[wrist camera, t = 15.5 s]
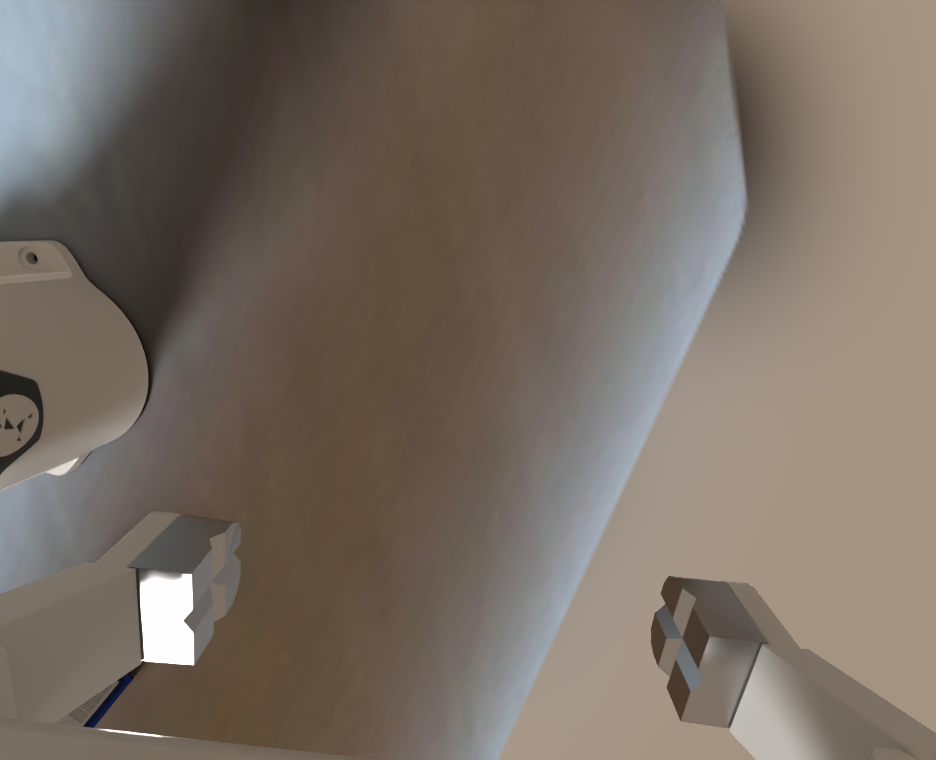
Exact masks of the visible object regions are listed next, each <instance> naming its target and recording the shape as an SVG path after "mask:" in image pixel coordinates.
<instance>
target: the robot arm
mask: <svg viewBox="0 0 936 760" xmlns="http://www.w3.org/2000/svg"><path fill="white" fill-rule="evenodd" d="M34 255H36V256H37V259H38V261H37V262H36V261H35V259H34ZM147 391H148V367H147V361H146V357H145V353H144V350H143V347H142V344H141V342H140V340H139V337H138V335H137V333H136V332H135V330H134V328H133V326H132V325H131V323H130V322H129V320H128V319H127V317H126V316H125V315H124V314H123V312H122V311H121V310H120V309H119V308H118V307H117V306H116V305H115V303H114V302H112V301H111V300H110V299H109V298H108V297H107V296H106V295H105V294H103V293H102V292H101V291H100V290H99V289H97V288H96V287H95V286H94V285H93V284H92V283H91V282H90V281H89V280H88V279H87V278H86V277H85V275H84V273H83V272H82V270H81V268H80V267H79V265H78V263H77V262H76V260H75V259H74V257H73V256H72V254H71V253H70V252H69V250H68V249H67V248H66V247H65V246H64V245H63V244H61V243H59V242H57V241H52V240H38V241H0V491H2V490H4V489H7V488H9V487H11V486H14V485H16V484H19V483H21V482H23V481H26V480H28V479H30V478H33V477H35V476H37V475H40V474H42V473H45V472H47V473H50V474H53V475H63V474H66V473H68V472H71V471H73V470H75V469H76V468H77V467H78V466H79V465H80V464H81V463H82V462H83V461H84V460H85V458H86V457H87V456H88V454H89V453H90V452H91V451H92V450H94V449H96V448H97V447H99V446H102V445H104V444H107V443H109V442H111V441H113V440H115V439H117V438H118V437H120V436H121V435H122V434H124V433H125V432H126V431H127V430H128V429H129V428H130V427H131V426H132V425H133V424H134V422H135V421H136V420H137V418H138V417H139V415H140V413H141V411H142V409H143V406H144V404H145V400H146V396H147ZM240 543H241V530H240V526H239V524H238V523H237V522H234V521H227V520H220V519H214V518H207V517H200V516H193V515H186V514H184V515H182V514H179V513H171V512H162V511H156V512H151V513H150V514H148V515H147V516H146V517H145V518H144V519H143V520H142V521H141V522H139V523H138V524H137V525H136V526H135V527H134V528H133V529H132V530H131V531H129V532H128V533H127V534H126V535H125V536H124V537H123V538H122V539H121V540H120V541H118V542H117V543H116V544H115V545H114V546H113V547H112V548H111V549H110V550H108V551H107V552H106V553H105V554H104V555H103V556H102V557H101V558H100V559H99V560H97V561H96V562H95V563H94V564H93V563H82V564H80V565H77V566H74V567H72V568H69V569H66V570H64V571H61V572H58V573H56V574H53V575H50V576H48V577H45V578H42V579H40V580H37V581H34V582H32V583H29V584H26V585H24V586H21V587H18V588H16V589H13V590H10V591H8V592H5V593H2V594H0V760H379V759H370V758H361V757H351V756H342V755H333V754H324V753H315V752H306V751H297V750H288V749H279V748H270V747H261V746H252V745H243V744H234V743H225V742H216V741H207V740H198V739H189V738H180V737H171V736H162V735H153V734H144V733H135V732H126V731H117V730H108V729H99V728H90V727H81V726H72V725H63V724H54V723H55V722H57V721H58V720H60V719H61V718H63V717H64V716H66V715H67V714H69V713H70V712H71V711H73V710H74V709H76V708H77V707H79V706H80V705H82V704H83V703H85V702H86V701H88V700H89V699H90V698H92V697H93V696H95V695H96V694H98V693H99V692H101V691H102V690H104V689H105V688H107V687H108V686H110V685H111V684H112V683H114V682H115V681H117V680H118V679H120V678H121V677H123V676H124V675H126V674H127V673H129V672H130V671H131V670H133V669H134V668H136V667H137V666H139V665H140V664H141V663H142V662H141V661H151V662H163V663H174V664H186V665H194V664H195V663H196V661H197V659H198V658H199V656H200V655H201V653H202V652H203V650H204V648H205V647H206V645H207V644H208V642H209V641H210V639H211V637H212V636H213V622H214V621H216V620H218V619H220V618H221V617H223V616H225V615H226V613H227V612H228V610H229V608H230V607H231V605H232V603H233V601H234V598H235V595H236V592H237V589H238V586H239V580H240V574H241V562H240V561H239V559H238V558H237V557H236V555H235V554H234V551H235V550H236V548H237V547H238V546H239V544H240ZM661 595H662V597H663V599H664V601H665V603H666V604H665V605H664V606H663V607H662V608H661V609H659V610H658V611H657V612H655V615H654V619H653V623H652V627H651V644H652V649H653V654H654V657H655V659H656V662H657V665H658V667H659V668H661V670H663V671H664V672H665V673H666V674H667V675H668V676H669V677H670V679H669V682H668V685H667V689H668V692H669V694H670V697H671V699H672V701H673V704H674V706H675V709H676V711H677V713H678V716H679V718H680V721H682V722H689V723H696V724H703V725H709V726H716V727H723V728H730V730H729V731H730V732H731V733H732V734H733V735H734V737H735V738H736V739H737V740H738V741H739V742H740V743H741V744H742V745H743V746H744V747H745V748H746V749H747V750H748V751H749V752H750V753H751V755H752V756H753V757H754V758H755V759H756V760H936V733H935V732H933V731H932V730H930V729H929V728H927V727H926V726H924V725H923V724H921V723H920V722H918V721H917V720H915V719H914V718H912V717H910V716H909V715H907V714H906V713H904V712H903V711H901V710H900V709H898V708H897V707H895V706H894V705H892V704H891V703H889V702H888V701H886V700H885V699H883V698H881V697H880V696H879V695H877V694H875V693H874V692H873V691H871V690H870V689H868V688H866V687H865V686H863V685H862V684H860V683H859V682H857V681H856V680H854V679H853V678H851V677H850V676H848V675H847V674H845V673H844V672H842V671H841V670H839V669H838V668H836V667H835V666H833V665H831V664H830V663H829V662H827V661H826V660H824V659H822V658H821V657H819V656H818V655H816V654H815V653H813V652H812V651H810V650H808V649H800V647H799V646H798V645H797V643H796V642H795V641H794V639H793V638H792V637H791V635H789V633H788V631H787V630H786V629H785V628H784V626H783V625H782V624H781V622H780V621H779V620H778V618H777V617H776V616H775V614H774V613H773V612H772V611H771V609H770V608H769V607H768V605H767V604H766V603H765V601H764V600H763V599H762V597H761V596H760V595H759V593H758V592H757V591H756V589H755V588H754V587H752V586H750V585H749V584H747V583H738V582H727V581H720V582H719V581H710V580H701V579H692V578H683V577H674V576H669V577H668V578H667V579H666V581H665V582H664V585H663V588H662V591H661Z"/></svg>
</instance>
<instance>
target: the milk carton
mask: <svg viewBox="0 0 936 760" xmlns="http://www.w3.org/2000/svg"><path fill="white" fill-rule="evenodd" d="M132 679H133V677H131V676H130V675H128V674H126V675H124V676H123V677H121V678H120V679H118V680H117V681H115V682H114V683H112V684H111V685H110V686H108V687H107V688H105V689H104V690H102V691H101V692H99V693H98V694H96V695H95V696H93V697H92V698H90V699H89V700H88V701H86V702H85V703H83V704H82V705H80V706H79V707H77V708H76V709H74V710H73V711H71V712H70V713H69V714H67V715H66V716H64V717H63V718H61V719H60V720H58V721H57V722H55V723H54V724H63V725H72V726H81V727H90V728H94V727H95V725H96V724H97V723H98V722H99V720H100V719H101V718H102V717H103V715H104V714H105V713H106V712H107V710H108V709H109V708H110V707H111V705H112V704H113V703H114V702H115V700H116V699H117V698H118V697H119V695H120V694H121V693H122V692H123V690H124V689H125V688H126V687H127V685H128V684H129V683H130V682H131V681H132Z"/></svg>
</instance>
